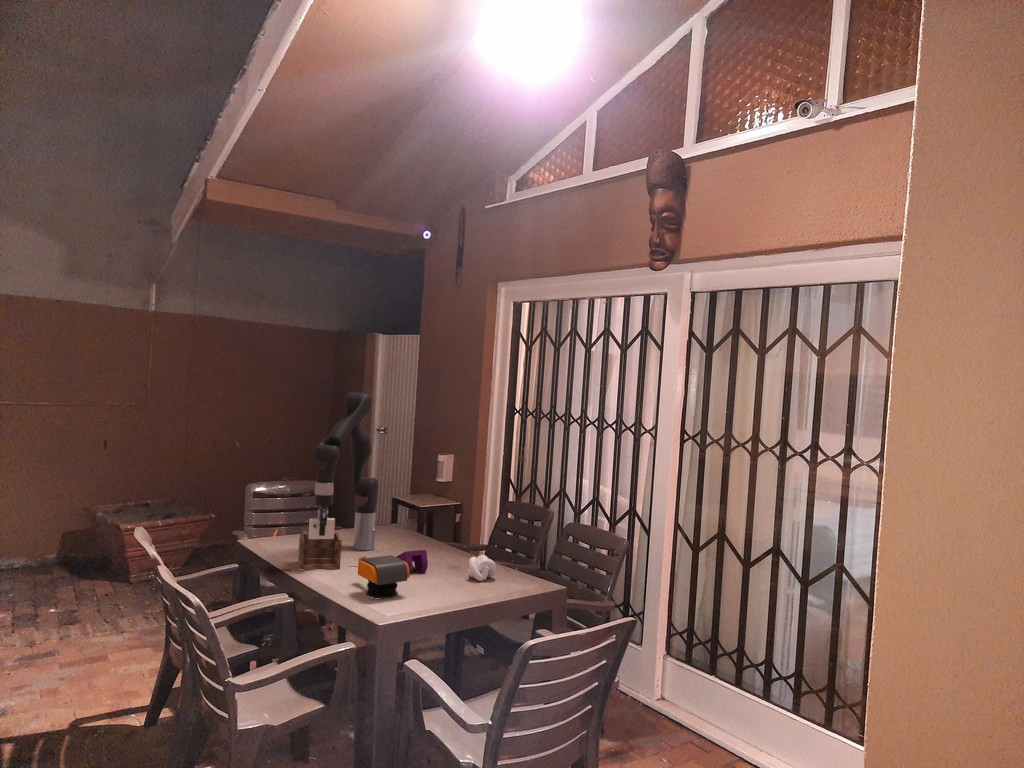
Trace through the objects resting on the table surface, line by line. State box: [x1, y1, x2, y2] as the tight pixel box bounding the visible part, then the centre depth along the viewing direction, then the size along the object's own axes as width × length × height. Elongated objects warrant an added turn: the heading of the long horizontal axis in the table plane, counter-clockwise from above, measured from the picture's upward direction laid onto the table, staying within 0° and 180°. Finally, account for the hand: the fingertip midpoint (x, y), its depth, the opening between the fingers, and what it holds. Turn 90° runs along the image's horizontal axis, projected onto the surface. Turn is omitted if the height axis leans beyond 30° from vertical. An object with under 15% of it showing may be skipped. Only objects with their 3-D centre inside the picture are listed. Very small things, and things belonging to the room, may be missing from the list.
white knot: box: [468, 554, 497, 582], centre depth 285 cm, size 11×12×9 cm
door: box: [308, 517, 336, 539], centre depth 286 cm, size 10×4×8 cm, turn 110°
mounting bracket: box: [395, 549, 429, 574], centre depth 293 cm, size 10×8×18 cm
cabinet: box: [297, 532, 343, 570], centre depth 290 cm, size 16×14×12 cm
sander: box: [357, 554, 411, 600], centre depth 261 cm, size 15×25×13 cm, turn 39°
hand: (321, 534), depth 287 cm, fingers closed on door, 3 cm apart
